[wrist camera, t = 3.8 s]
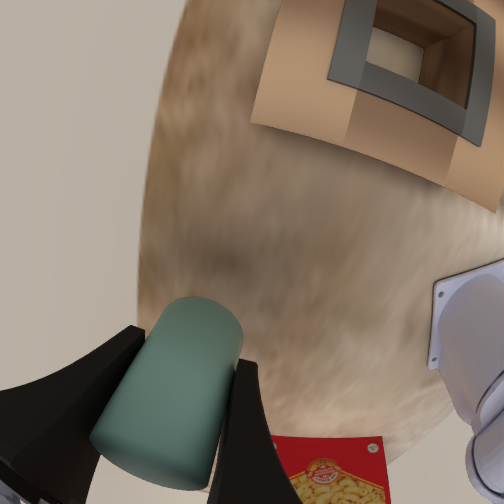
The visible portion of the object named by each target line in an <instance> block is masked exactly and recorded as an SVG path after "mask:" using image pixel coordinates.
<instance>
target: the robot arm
mask: <svg viewBox="0 0 504 504" xmlns="http://www.w3.org/2000/svg"><path fill="white" fill-rule="evenodd" d="M441 291H442V292H441ZM440 292H441V294H439V293H440ZM438 294H439V295H438ZM144 342H145V330H144V329H141V328H138V327H135V326H133V325H130V326H128V327H127V328H125V329H124V330H122V331H121V332H119V333H118V334H117V335H115V336H114V337H112V338H111V339H110V340H108V341H107V342H105V343H104V344H102V345H101V346H99V347H98V348H96V349H95V350H93V351H92V352H90V353H89V354H87V355H85V356H84V357H82V358H80V359H79V360H77V361H75V362H74V363H72V364H70V365H68V366H66V367H65V368H63V369H61V370H59V371H57V372H55V373H53V374H50V375H48V376H46V377H43V378H41V379H38V380H36V381H33V382H30V383H27V384H24V385H21V386H18V387H14V388H11V389H6V390H2V391H0V504H21V503H20V500H22V501H23V502H24V503H26V504H85V503H86V499H87V495H88V491H89V488H90V484H91V481H92V478H93V475H94V472H95V469H96V466H97V463H98V461H99V458H100V455H101V454H100V453H99V452H98V451H97V450H96V449H95V447H94V446H93V445H92V443H91V441H90V438H89V436H90V434H91V432H92V430H93V428H94V426H95V425H96V423H97V421H98V419H99V418H100V416H101V414H102V412H103V411H104V409H105V407H106V405H107V404H108V402H109V400H110V398H111V397H112V395H113V393H114V392H115V390H116V388H117V387H118V385H119V383H120V381H121V380H122V378H123V376H124V375H125V373H126V371H127V370H128V368H129V366H130V365H131V363H132V362H133V360H134V358H135V357H136V355H137V353H138V352H139V350H140V348H141V347H142V345H143V344H144ZM427 367H428V369H429V370H434V369H437V368H438V369H439V371H440V373H441V375H442V378H443V380H444V382H445V385H446V387H447V389H448V392H449V394H450V397H451V399H452V402H453V404H454V407H455V409H456V412H457V414H458V415H459V417H460V418H461V419H462V420H463V421H464V422H466V423H467V424H469V425H471V427H472V430H473V432H474V435H473V437H472V438H471V439H470V441H469V443H468V445H467V449H466V455H465V462H466V469H467V473H468V477H469V479H470V482H471V483H472V485H473V487H474V488H475V489H476V490H477V491H478V492H479V493H480V494H481V495H482V496H484V497H485V498H487V499H489V500H490V501H491V502H492V503H493V504H504V260H501V261H499V262H496V263H493V264H490V265H487V266H484V267H481V268H478V269H475V270H472V271H469V272H466V273H463V274H460V275H457V276H453V277H450V278H447V279H444V280H440V281H438V282H437V283H436V284H435V286H434V300H433V317H432V330H431V340H430V349H429V357H428V365H427ZM207 504H303V502H302V501H301V499H300V498H299V496H298V494H297V493H296V491H295V489H294V487H293V485H292V483H291V482H290V480H289V478H288V476H287V474H286V472H285V470H284V468H283V466H282V463H281V461H280V459H279V456H278V454H277V451H276V449H275V446H274V444H273V441H272V438H271V435H270V431H269V428H268V425H267V421H266V418H265V413H264V409H263V405H262V400H261V395H260V388H259V380H258V365H257V363H256V362H252V361H248V360H244V359H240V358H239V361H238V364H237V368H236V371H235V375H234V379H233V383H232V387H231V392H230V397H229V401H228V406H227V410H226V414H225V418H224V422H223V426H222V430H221V437H220V444H219V451H218V458H217V464H216V469H215V473H214V477H213V481H212V485H211V489H210V493H209V497H208V500H207Z"/></svg>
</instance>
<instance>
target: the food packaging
mask: <svg viewBox="0 0 504 504" xmlns="http://www.w3.org/2000/svg"><path fill="white" fill-rule="evenodd" d="M271 438H272V441H273V444H274V446H275V449H276V451H277V454H278V456H279V459H280V461H281V463H282V466H283V468H284V470H285V472H286V474H287V476H288V478H289V480H290V482H291V483H292V485H293V487H294V489H295V491H296V493H297V494H298V496H299V498H300V499H301V501H302V502H303V504H391V498H390V490H389V481H388V475H387V467H386V460H385V453H384V447H383V441H382V436H378V437H361V438H303V437H285V436H273V435H271Z"/></svg>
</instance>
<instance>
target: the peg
mask: <svg viewBox="0 0 504 504" xmlns="http://www.w3.org/2000/svg"><path fill="white" fill-rule="evenodd" d="M242 342H243V333H242V329H241V326H240V324H239V322H238V321H237V319H236V318H235V317H234V315H233V314H232V313H231V312H230V311H229V310H227V309H226V308H225V307H223V306H222V305H220V304H218V303H216V302H214V301H211V300H208V299H205V298H200V297H185V298H180V299H178V300H175V301H174V302H172V303H171V304H169V305H168V306H167V308H166V309H165V310H164V312H163V313H162V315H161V317H160V318H159V320H158V321H157V323H156V324H155V326H154V328H153V329H152V331H151V332H150V334H149V336H148V337H147V339H146V340H145V342H144V344H143V345H142V347H141V348H140V350H139V352H138V353H137V355H136V357H135V358H134V360H133V362H132V363H131V365H130V366H129V368H128V370H127V371H126V373H125V375H124V376H123V378H122V380H121V381H120V383H119V385H118V387H117V388H116V390H115V392H114V393H113V395H112V397H111V398H110V400H109V402H108V404H107V405H106V407H105V409H104V411H103V412H102V414H101V416H100V418H99V419H98V421H97V423H96V425H95V426H94V428H93V430H92V432H91V434H90V436H89V438H90V441H91V443H92V445H93V446H94V447H95V449H96V450H97V451H98V452H99V453H100V454H101V455H103V456H104V457H105V458H106V459H108V460H109V461H110V462H112V463H113V464H114V465H116V466H118V467H119V468H121V469H123V470H124V471H126V472H128V473H130V474H132V475H134V476H136V477H138V478H141V479H143V480H145V481H148V482H151V483H154V484H157V485H160V486H164V487H168V488H173V489H178V490H187V491H195V490H202V489H204V488H206V487H207V486H208V483H209V479H210V475H211V471H212V467H213V463H214V459H215V455H216V451H217V447H218V443H219V438H220V434H221V430H222V426H223V422H224V418H225V414H226V410H227V406H228V401H229V397H230V392H231V387H232V383H233V379H234V375H235V371H236V368H237V364H238V359H239V355H240V351H241V346H242Z"/></svg>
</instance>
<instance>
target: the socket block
mask: <svg viewBox="0 0 504 504" xmlns="http://www.w3.org/2000/svg"><path fill="white" fill-rule="evenodd" d="M372 26H374V27H377V28H380V29H382V30H385V31H387V32H389V33H392V34H394V35H397V36H399V37H401V38H403V39H405V40H408V41H410V42H412V43H414V44H416V45H418V46H420V47H422V48H424V56H423V62H422V67H421V73H420V78H419V83H416V82H414V81H412V80H409V79H407V78H405V77H403V76H401V75H398V74H396V73H394V72H391V71H389V70H387V69H384V68H382V67H379V66H377V65H374V64H371V63H369V62H366V61H365V60H366V56H367V51H368V46H369V41H370V37H371V32H372ZM250 122H252V123H257V124H261V125H265V126H269V127H274V128H278V129H282V130H286V131H290V132H293V133H297V134H301V135H304V136H308V137H311V138H315V139H318V140H322V141H325V142H328V143H332V144H335V145H338V146H341V147H344V148H347V149H350V150H353V151H356V152H359V153H362V154H365V155H368V156H370V157H373V158H376V159H378V160H381V161H384V162H386V163H389V164H392V165H394V166H397V167H399V168H402V169H404V170H407V171H409V172H411V173H414V174H416V175H418V176H421V177H423V178H425V179H428V180H430V181H432V182H434V183H436V184H439V185H441V186H443V187H445V188H447V189H449V190H451V191H453V192H456V193H458V194H460V195H462V196H464V197H466V198H468V199H469V200H471V201H473V202H475V203H477V204H479V205H481V206H483V207H485V208H486V209H488V210H490V211H492V212H494V213H495V212H496V209H497V206H498V203H499V200H500V197H501V194H502V191H503V188H504V0H282V1H281V4H280V8H279V11H278V15H277V18H276V22H275V26H274V29H273V33H272V37H271V40H270V44H269V48H268V52H267V55H266V59H265V63H264V67H263V71H262V75H261V79H260V83H259V87H258V91H257V95H256V99H255V103H254V107H253V111H252V115H251V119H250Z"/></svg>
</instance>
